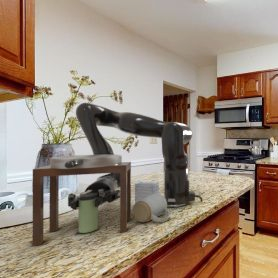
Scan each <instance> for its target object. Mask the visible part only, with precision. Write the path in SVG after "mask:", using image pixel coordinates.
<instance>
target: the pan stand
mask: <svg viewBox="0 0 278 278" xmlns="http://www.w3.org/2000/svg"><path fill="white" fill-rule="evenodd" d="M122 158H123V157H122V155H121V154H114V155H93V154H80V155H79V154H78V155H77V154H76V155H63V156H54V157H50V158H49V165H44V166H40V167H36V168H32V247H36V246H41V245H42V244H43V243H44V205H45V203H44V200H45V199H44V195H45V194H44V186H45V185H44V179H45V178H46V177H49V233H51V232H52V233H53V232H57V231H58V230H59V225H60V224H59V219H60V218H59V217H60V216H59V212H60V211H59V201H60V200H59V198H60V197H59V196H60V195H59V191H60V190H59V186H60V185H59V184H60V183H59V182H60V181H59V177H61V176H62V177H63V176H65V177H66V176H81V175H82V176H83V175H100V174H101V175H103V174H109V173H120V187H119V190H120V198H119V224H120V225H119V233H127V231H128V222H130V221H131V219H132V162H131V161H123V160H122Z"/></svg>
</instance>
